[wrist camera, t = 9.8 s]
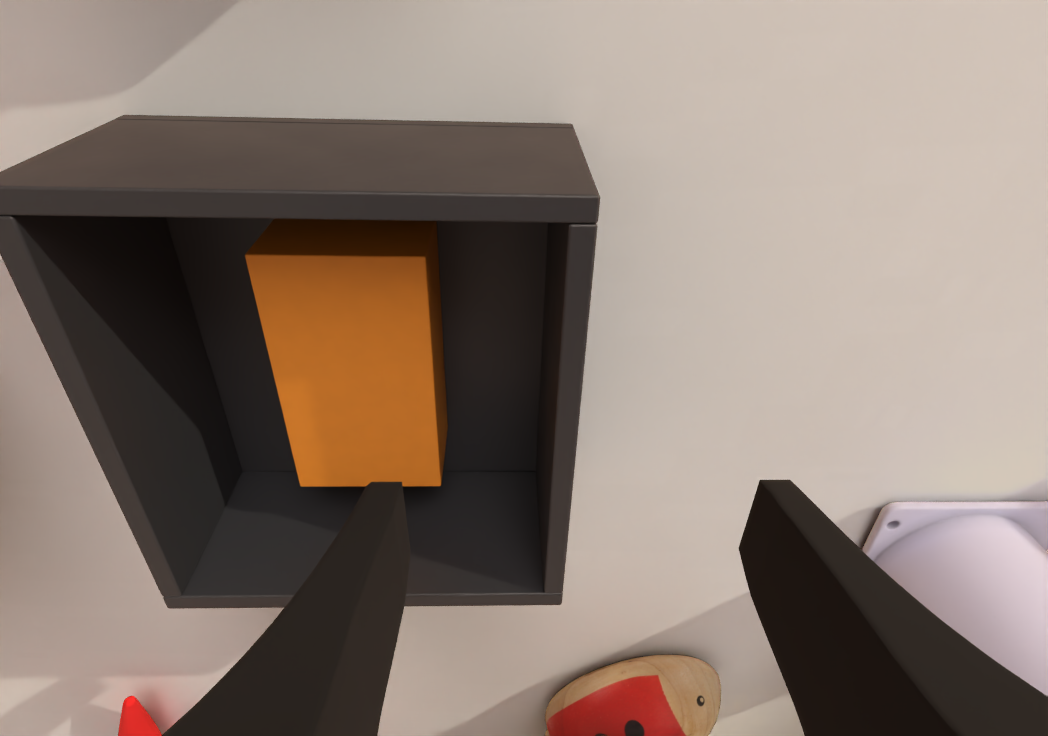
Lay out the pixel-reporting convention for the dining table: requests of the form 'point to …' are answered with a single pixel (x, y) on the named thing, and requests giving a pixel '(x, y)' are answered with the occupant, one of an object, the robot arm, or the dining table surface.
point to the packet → (355, 347)
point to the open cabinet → (242, 357)
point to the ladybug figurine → (639, 699)
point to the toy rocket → (136, 720)
